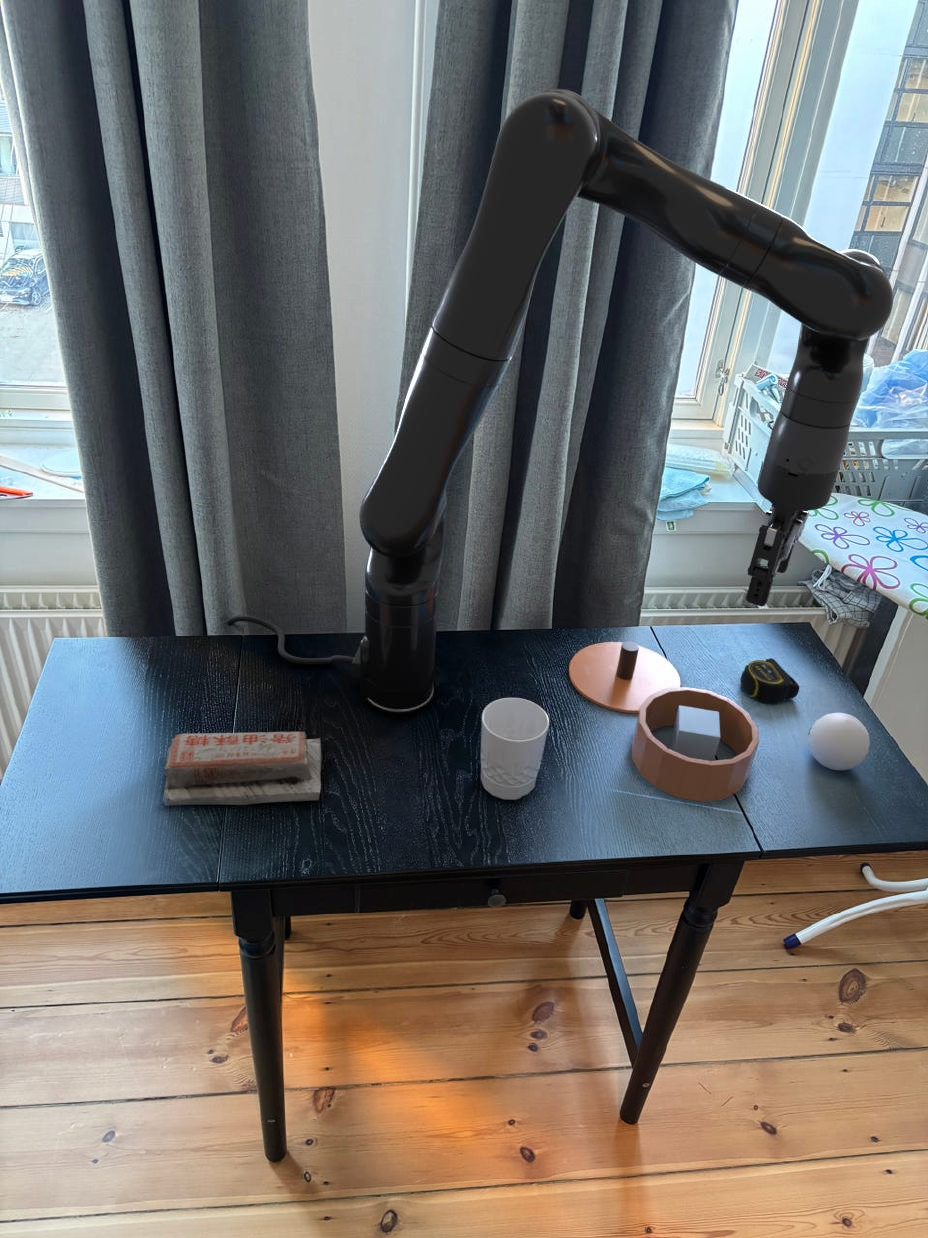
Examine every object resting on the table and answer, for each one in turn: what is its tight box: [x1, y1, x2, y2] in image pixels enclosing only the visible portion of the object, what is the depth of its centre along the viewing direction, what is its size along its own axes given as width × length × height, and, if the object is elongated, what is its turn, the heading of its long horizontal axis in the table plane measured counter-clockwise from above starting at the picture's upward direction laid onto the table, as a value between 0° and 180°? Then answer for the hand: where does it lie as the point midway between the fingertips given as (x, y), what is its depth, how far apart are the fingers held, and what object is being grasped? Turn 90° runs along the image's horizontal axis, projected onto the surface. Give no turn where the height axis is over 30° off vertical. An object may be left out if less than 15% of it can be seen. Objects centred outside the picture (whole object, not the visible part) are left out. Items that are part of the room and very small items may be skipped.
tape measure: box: [740, 657, 800, 705], centre depth 134 cm, size 7×7×4 cm
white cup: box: [480, 697, 550, 801], centre depth 115 cm, size 8×8×10 cm
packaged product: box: [162, 731, 322, 807], centre depth 114 cm, size 18×5×10 cm
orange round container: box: [630, 686, 760, 803], centre depth 120 cm, size 15×15×6 cm
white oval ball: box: [807, 708, 871, 771], centre depth 123 cm, size 10×7×7 cm
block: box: [669, 705, 721, 761], centre depth 120 cm, size 5×5×6 cm
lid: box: [568, 640, 682, 714], centre depth 134 cm, size 16×16×6 cm
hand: (766, 586), depth 109 cm, fingers open, 8 cm apart
